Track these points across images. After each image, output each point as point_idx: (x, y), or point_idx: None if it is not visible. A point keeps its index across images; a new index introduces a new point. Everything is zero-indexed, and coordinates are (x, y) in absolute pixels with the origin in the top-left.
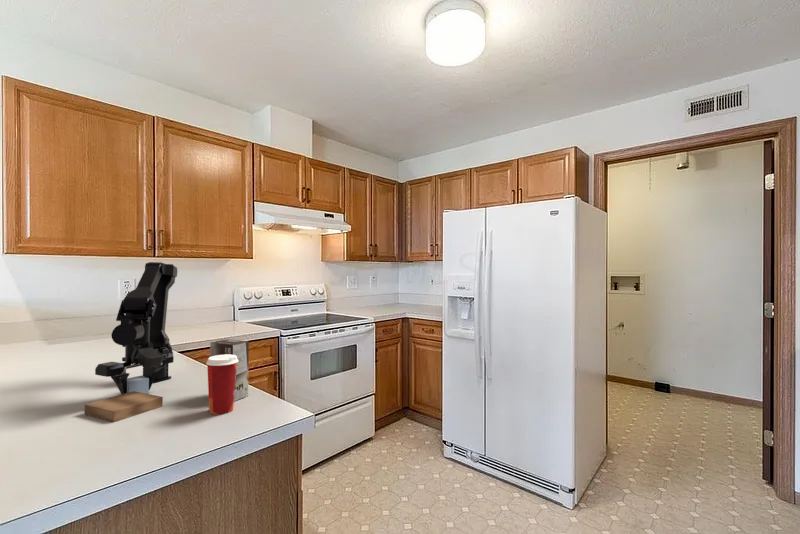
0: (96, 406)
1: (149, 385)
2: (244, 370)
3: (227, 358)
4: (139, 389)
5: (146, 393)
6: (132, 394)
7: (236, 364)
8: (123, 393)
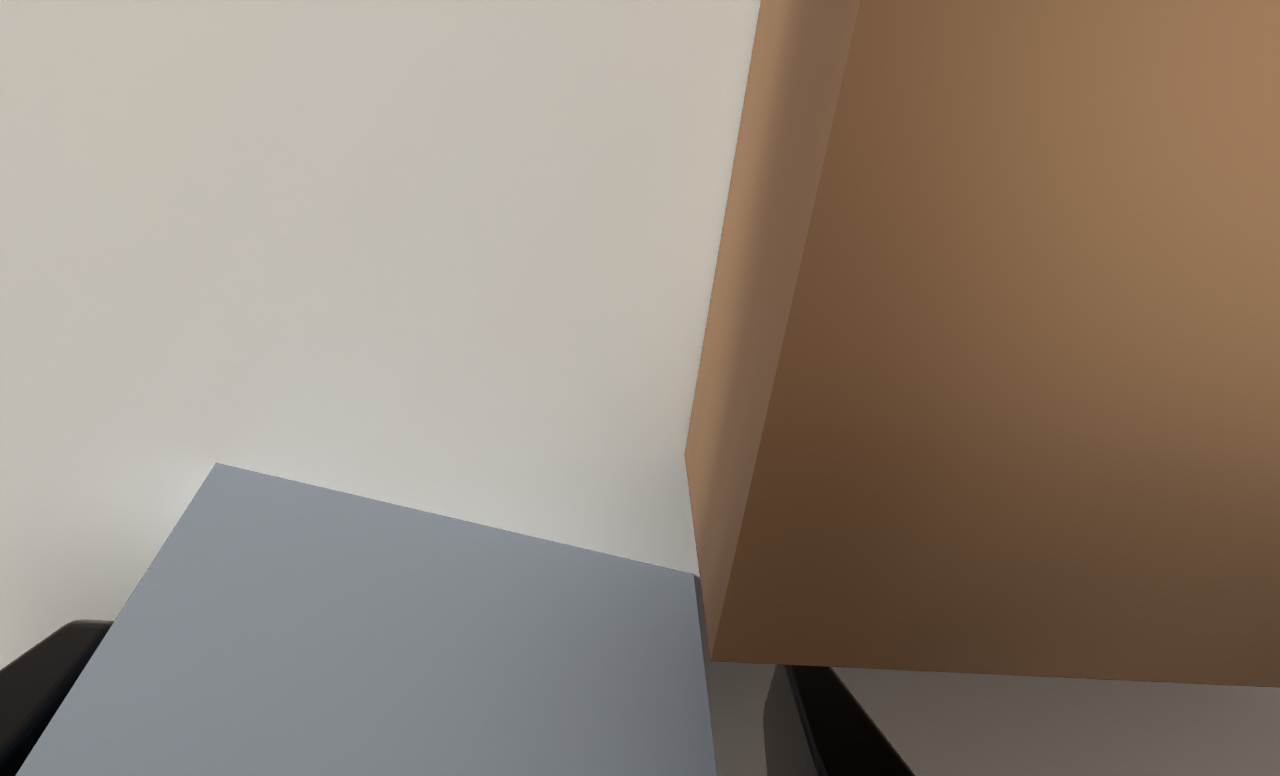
0: None
1: (4, 741)
2: None
3: None
4: (415, 706)
5: (254, 519)
6: (1134, 365)
7: None
8: (881, 756)
